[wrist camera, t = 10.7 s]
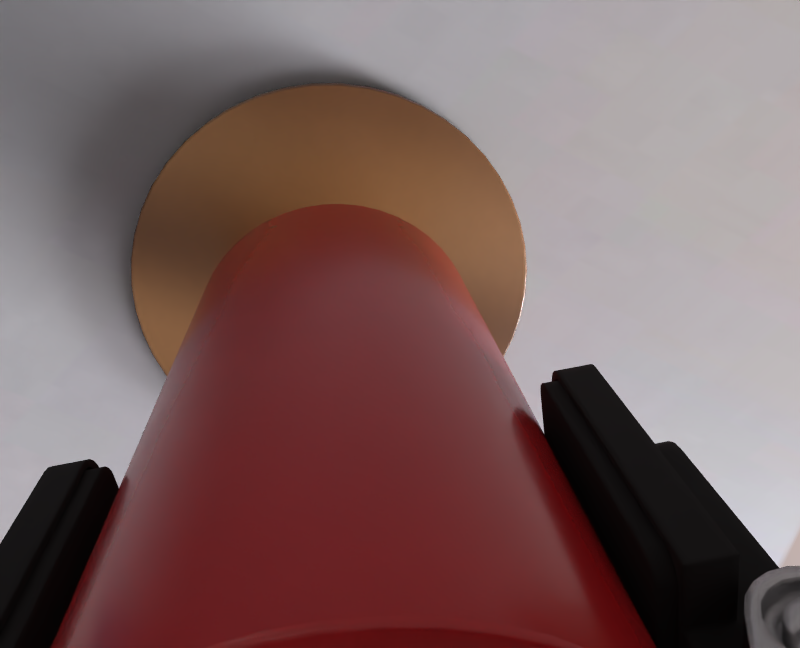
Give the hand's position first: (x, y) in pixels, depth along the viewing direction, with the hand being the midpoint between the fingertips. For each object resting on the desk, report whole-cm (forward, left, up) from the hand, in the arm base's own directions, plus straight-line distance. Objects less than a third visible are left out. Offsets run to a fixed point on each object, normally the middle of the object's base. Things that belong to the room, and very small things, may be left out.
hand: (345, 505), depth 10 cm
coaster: (0, 0, -9) cm, 9 cm away
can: (0, 0, -6) cm, 6 cm away
